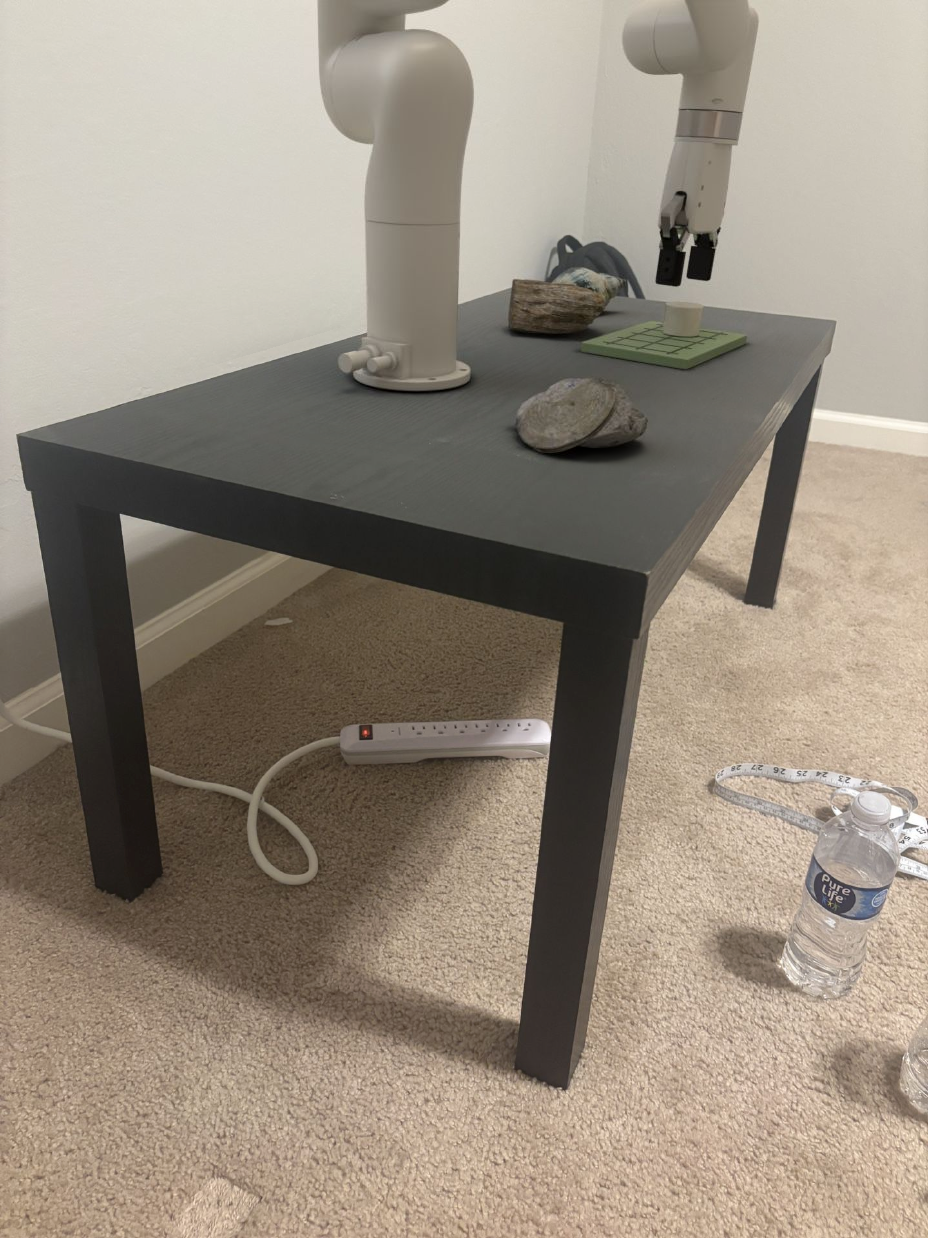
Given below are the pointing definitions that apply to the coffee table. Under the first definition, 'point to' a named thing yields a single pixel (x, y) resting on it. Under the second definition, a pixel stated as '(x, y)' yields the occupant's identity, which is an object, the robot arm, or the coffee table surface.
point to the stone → (552, 307)
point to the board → (663, 345)
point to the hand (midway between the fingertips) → (683, 282)
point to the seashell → (592, 281)
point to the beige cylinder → (682, 319)
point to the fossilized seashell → (579, 416)
